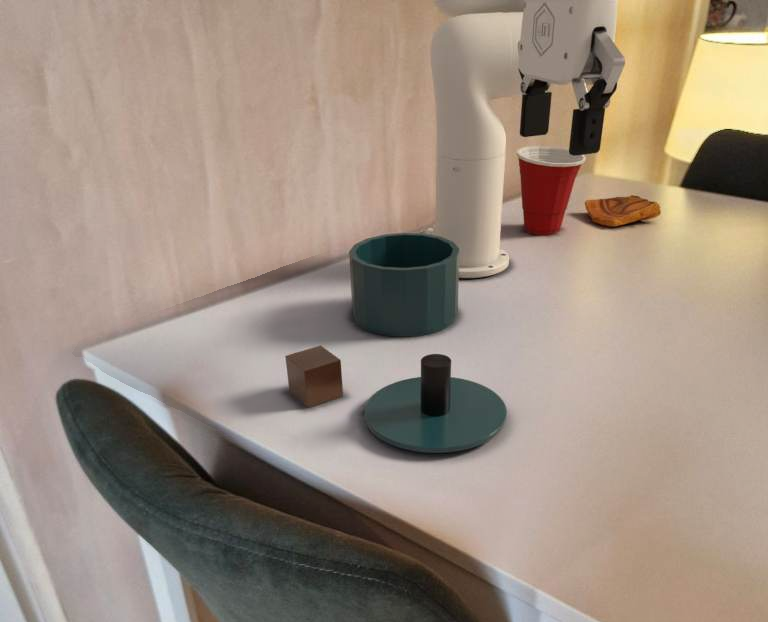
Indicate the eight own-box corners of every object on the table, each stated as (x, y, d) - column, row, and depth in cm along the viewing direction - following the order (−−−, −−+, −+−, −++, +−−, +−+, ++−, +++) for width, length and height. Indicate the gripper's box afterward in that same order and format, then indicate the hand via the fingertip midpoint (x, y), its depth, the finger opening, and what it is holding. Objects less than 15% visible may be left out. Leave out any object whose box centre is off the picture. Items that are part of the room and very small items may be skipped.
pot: (334, 310, 102) (330, 247, 97) (417, 287, 108) (417, 226, 103) (390, 346, 93) (388, 278, 88) (477, 319, 99) (481, 253, 93)
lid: (339, 411, 81) (334, 353, 77) (449, 373, 87) (450, 318, 83) (417, 475, 71) (417, 413, 67) (535, 427, 77) (542, 368, 73)
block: (289, 392, 85) (285, 355, 82) (323, 380, 86) (320, 345, 84) (308, 408, 82) (304, 371, 79) (343, 396, 83) (340, 359, 81)
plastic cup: (577, 241, 121) (588, 160, 114) (509, 239, 123) (515, 159, 116) (576, 220, 130) (585, 144, 122) (511, 218, 131) (517, 143, 124)
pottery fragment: (664, 203, 126) (613, 199, 122) (656, 232, 128) (605, 229, 125) (631, 189, 133) (582, 186, 130) (623, 217, 136) (575, 214, 133)
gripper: (495, -63, 73) (486, 132, 84) (596, -65, 60) (571, 166, 71) (563, -65, 75) (546, 126, 86) (675, -69, 62) (639, 157, 73)
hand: (557, 144), depth 78 cm, fingers open, 9 cm apart
